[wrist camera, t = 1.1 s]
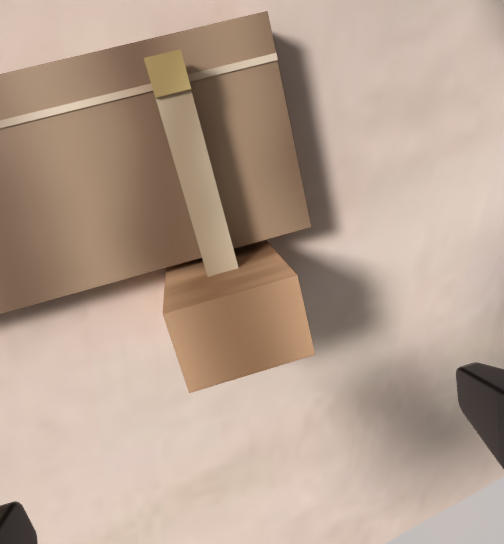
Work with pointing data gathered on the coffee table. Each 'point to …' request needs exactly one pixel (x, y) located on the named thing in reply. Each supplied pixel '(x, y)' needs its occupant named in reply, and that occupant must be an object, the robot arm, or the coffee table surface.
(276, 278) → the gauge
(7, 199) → the board
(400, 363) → the coffee table surface
